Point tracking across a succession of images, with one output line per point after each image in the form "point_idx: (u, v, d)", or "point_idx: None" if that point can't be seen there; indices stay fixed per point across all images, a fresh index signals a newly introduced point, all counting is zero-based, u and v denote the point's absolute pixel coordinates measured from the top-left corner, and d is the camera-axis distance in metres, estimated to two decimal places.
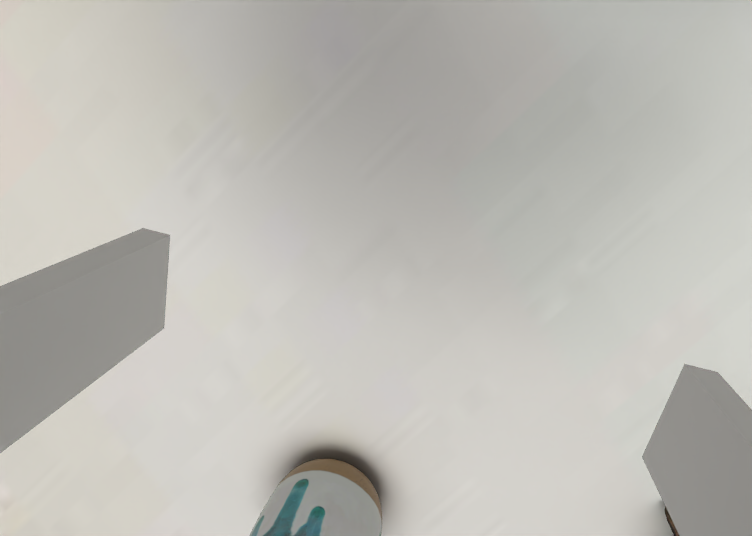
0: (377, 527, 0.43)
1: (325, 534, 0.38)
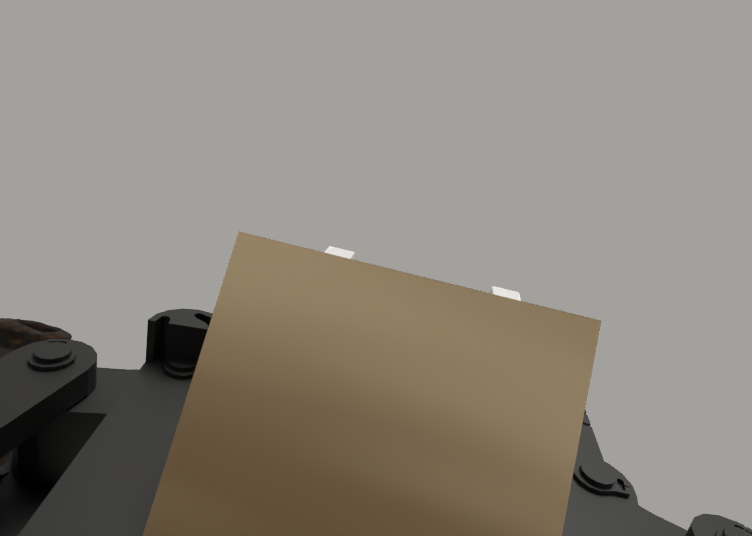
0: None
1: None
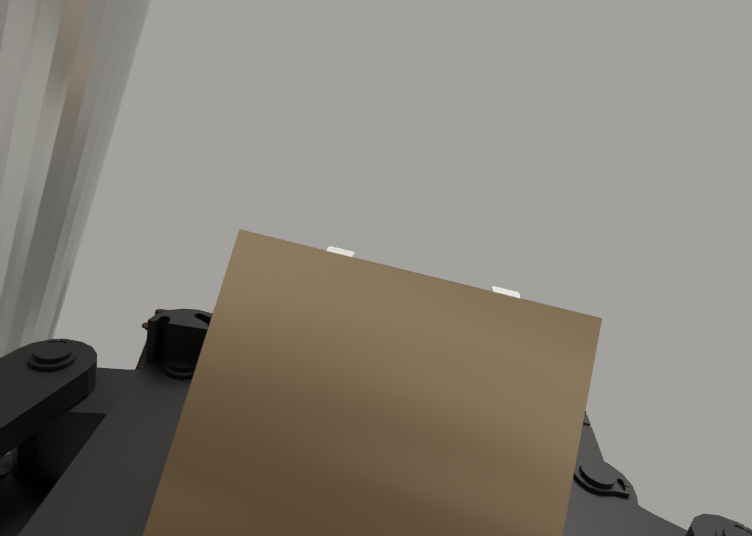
0: None
1: None
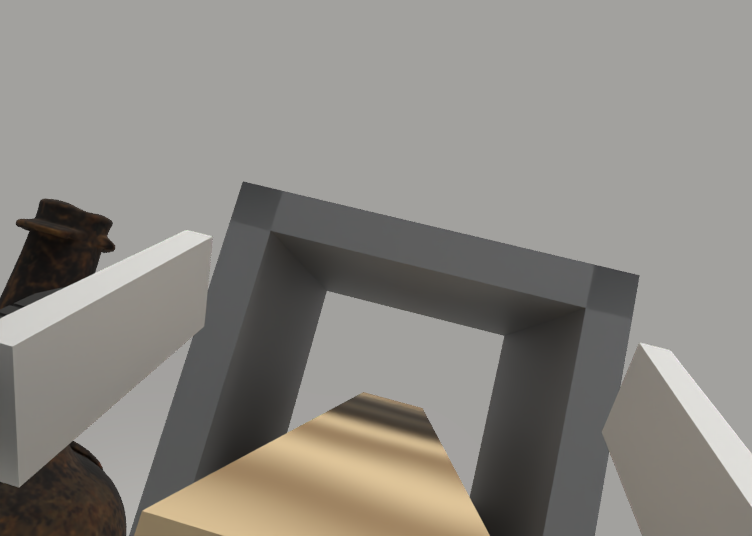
0: None
1: None
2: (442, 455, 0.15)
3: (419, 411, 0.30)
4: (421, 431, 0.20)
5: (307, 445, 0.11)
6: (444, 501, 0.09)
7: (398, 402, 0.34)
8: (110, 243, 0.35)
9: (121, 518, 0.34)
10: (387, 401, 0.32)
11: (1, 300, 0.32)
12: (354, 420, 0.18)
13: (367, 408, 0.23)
